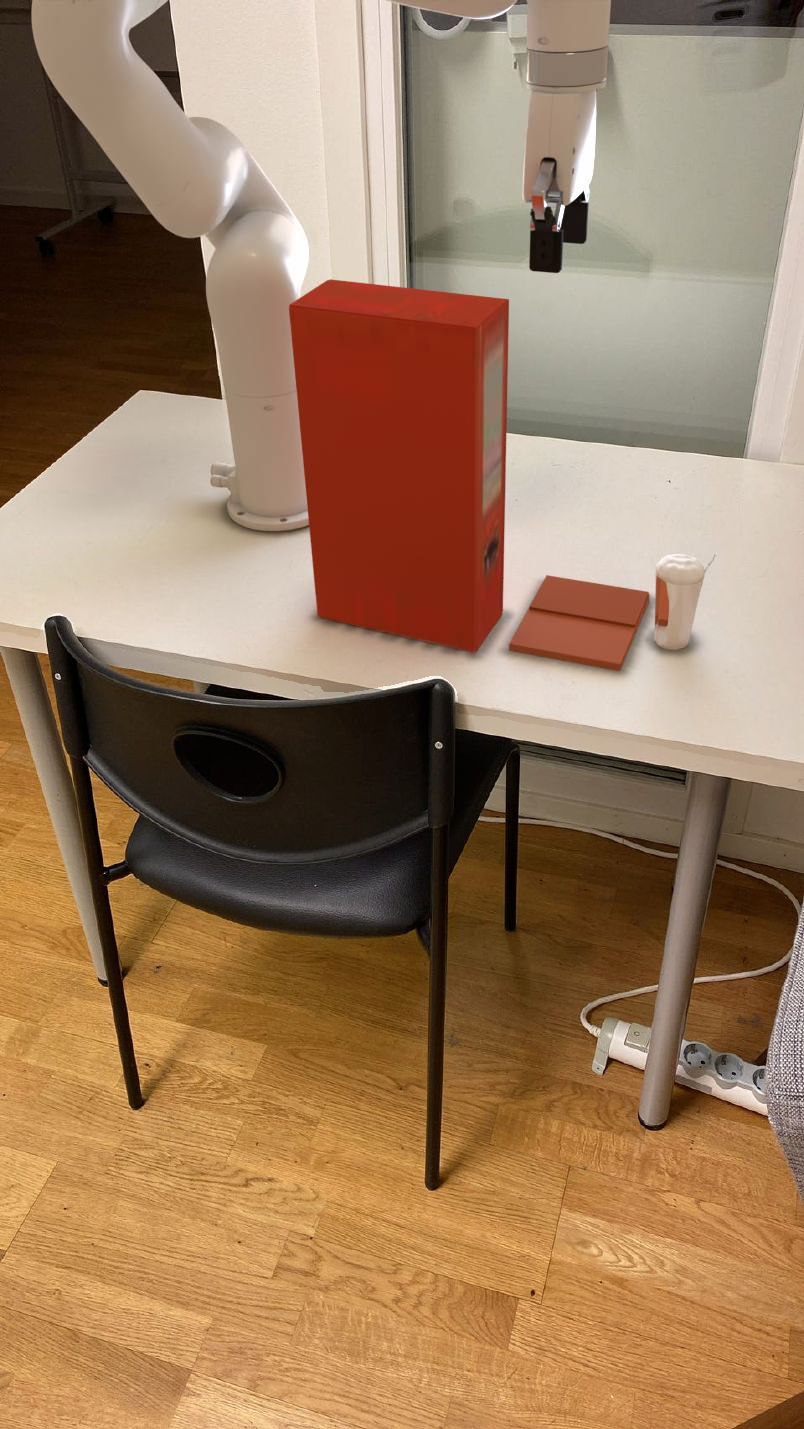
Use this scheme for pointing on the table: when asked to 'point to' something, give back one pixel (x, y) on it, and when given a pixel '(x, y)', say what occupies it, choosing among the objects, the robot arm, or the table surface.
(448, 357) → the file binder
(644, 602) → the cloth
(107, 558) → the table surface
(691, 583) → the milkshake
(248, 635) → the table surface
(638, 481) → the table surface
